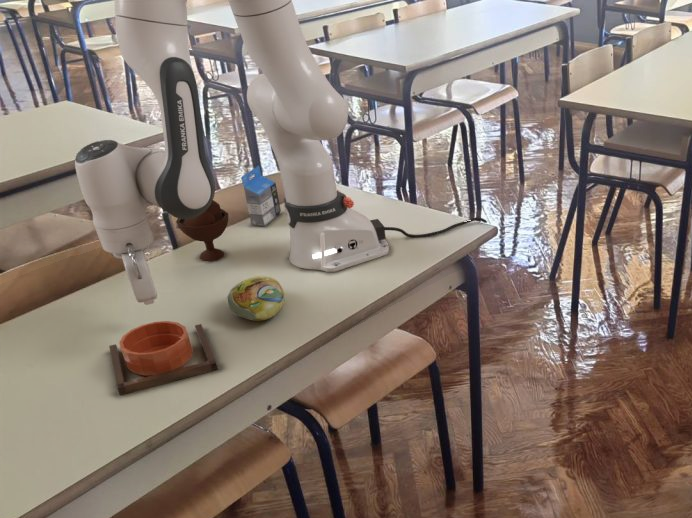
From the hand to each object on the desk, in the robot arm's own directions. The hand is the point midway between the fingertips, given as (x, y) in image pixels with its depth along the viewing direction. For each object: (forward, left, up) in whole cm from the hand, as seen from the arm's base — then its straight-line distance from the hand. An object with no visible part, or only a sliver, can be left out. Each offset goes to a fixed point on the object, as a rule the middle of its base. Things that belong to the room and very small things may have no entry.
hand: (148, 300), depth 145 cm
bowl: (+1, +13, -6) cm, 15 cm away
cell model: (-19, +3, -6) cm, 21 cm away
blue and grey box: (-31, -42, -6) cm, 53 cm away
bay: (+1, +13, -6) cm, 14 cm away
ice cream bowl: (-15, -27, -6) cm, 31 cm away
